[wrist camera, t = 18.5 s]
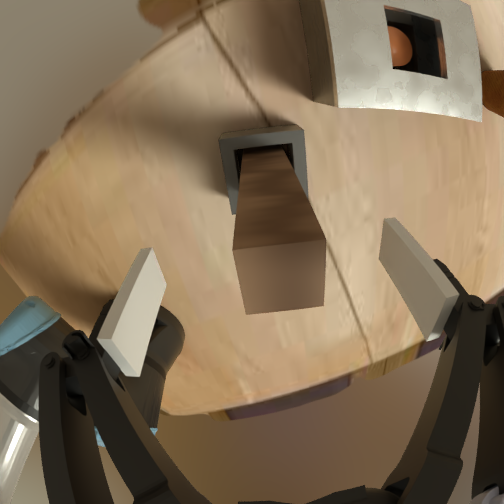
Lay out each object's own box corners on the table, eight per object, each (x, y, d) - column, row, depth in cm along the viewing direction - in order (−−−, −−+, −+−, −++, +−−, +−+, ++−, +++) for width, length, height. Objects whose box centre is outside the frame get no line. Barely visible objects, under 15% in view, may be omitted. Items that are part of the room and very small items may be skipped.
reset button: (361, 65, 22) (377, 63, 19) (356, 29, 20) (371, 23, 16) (396, 69, 22) (414, 68, 18) (392, 34, 19) (409, 30, 16)
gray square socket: (234, 199, 32) (232, 214, 28) (222, 133, 27) (218, 139, 24) (302, 191, 31) (308, 205, 28) (296, 124, 27) (303, 129, 23)
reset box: (313, 101, 25) (338, 107, 18) (297, -5, 18) (315, -36, 10) (434, 107, 24) (481, 122, 17) (424, 14, 17) (470, 5, 9)
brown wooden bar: (248, 181, 30) (245, 314, 14) (243, 148, 28) (232, 249, 12) (283, 177, 30) (323, 305, 14) (280, 143, 28) (326, 239, 11)
